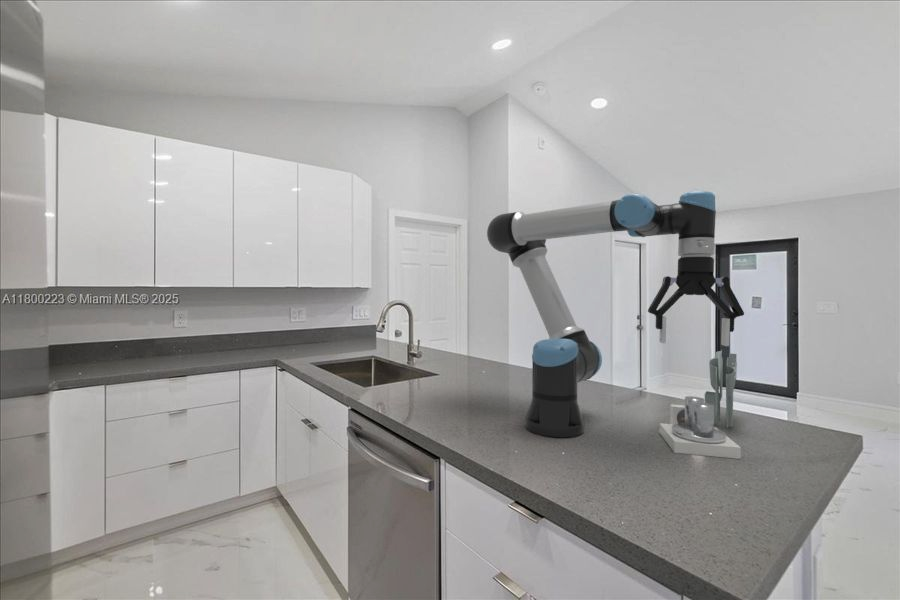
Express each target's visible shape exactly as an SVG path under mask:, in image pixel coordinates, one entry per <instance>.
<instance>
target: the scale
mask: <svg viewBox="0 0 900 600" xmlns="http://www.w3.org/2000/svg"><path fill="white" fill-rule="evenodd" d="M681 423H685V404H684V405H682V404H672V403H671V404H669V423H663V422H662V423H661V422H660V423H659V434H660V435H661V437H662V438H663V439H664V441H665V442H666V444H667V445H668V446H669V447H670V449H671V450H672V451H673V453H675V454H683V455H684V454H685V455H695V456H706V457H716V458H727V459H735V460H736V459H737V460H741V458H742V454H741V453H742V448H741V447H740V445H738V444H737V443H736V442H735V441H733V440H732V439H731V438H729V437H728V436H727V435H726V441H725V442H722V443H703V442H696V441H691V440H687V439H684V438H681V437H679V436H676V435H675V434H673V433H672V426H673V425H675V424H681ZM714 428H715V429H718V430H720V429H719V428H718V427H714Z"/></svg>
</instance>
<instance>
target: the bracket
mask: <svg viewBox="0 0 900 600" xmlns="http://www.w3.org/2000/svg"><path fill="white" fill-rule="evenodd" d="M722 353H723V349H721V350H718V351H716V352H715V353H714V354H715V355H714V357H713V358H711V359H710V360H709V378H710V379H709V380H710V386H711V388H712V389H713V390H714V391H707V390H706V391H705V392H704V403H708V404H712V405H714V425H716V426H719V422H720V421H721V401H722V398H723V383H724V382H723V381H724V380H723V376H724V373H723V372H724V371H723V370H724V369H723V367H724V366H723V365H724V361H723V356H722V355H723V354H722ZM737 363H738V362H737V353H728V357H727V358H726V374H725V404H726V406H725V408H726V410H725V412H726V413H725V416H726V421H725V422H726V425H725V426H726V429H729V427H730V428H733V426H734V425H733V424H734V390H735V389H734V388H735V387H736V381H737V367H738V364H737Z"/></svg>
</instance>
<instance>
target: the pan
mask: <svg viewBox="0 0 900 600" xmlns="http://www.w3.org/2000/svg"><path fill="white" fill-rule="evenodd" d="M715 428H716V427H714V437H713V438H703V437H698V436H695V435H694V434H693V429H690V428H687V427H685V423H681V424H675V425H673V426H672V433H673V434H675V435H676V436H679V437H681V438H684V439H687V440H691V441H696V442H703V443H722V442H725V441H726V436H727V434H726V432H725V431H722V430H721V429H719V428H717V429H715ZM718 429H719V430H718Z"/></svg>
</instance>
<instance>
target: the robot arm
mask: <svg viewBox="0 0 900 600" xmlns="http://www.w3.org/2000/svg"><path fill="white" fill-rule="evenodd" d="M716 214H717V210H716V195H715V194H714V193H713V192H711V191H707V190H695V191H690V192H686V193H683V194H681V195H680V196H679V201H678V203H677V202H676V203H671V204H662V205H657V204H656V203H654V202H653V201H652V200H651V199H650V198H649V197H647V196H645V195H642V194H640V193H629V194H626V195H624V196H623V197H621V198H620V199H617V200H611V201H610V200H609V201H604V202H597V203H590V204H585V205H578V206H570V207H565V208H557V209H552V210H547V211H546V210H545V211H539V212H538V211H537V212H532V213H526V214H525V212H523V211H515V212H514V211H513V212H507V213H503V214H499V215H497V216H495V217H494V218H492V220H491V221H490V223H489V224H488V227H487V230H486V236H487V240H488V242H489V245H490V246H491V247H492V248H493V249H494V250H496V251H497V252H501V253H505V254H508V257H509V259H510V261H511V263H512V265H513V267H515V268H519V270H520V273H521V274H522V277H523V279H524V281H525V284H526V286H527V289H528V290H529V293H530V295H531V298H532V300H533V301H534V305H535V308H537V311H538V314H539V316H540V318H541V320H542V323H543V325H544V327H545V330H546V332H547V334H548V339H547V338H546V339H542V340H539V341H537V342H535V344H534V345H533V348H532V354H531V359H532V366H531V367H532V368H531V369H532V371H531V372H532V376H531V377H532V378H531V379H532V381H531V382H532V384H531V386H532V393H531V394H532V398H531V400H530V404H529V406H528V409H527V413H526V415H525V428H526V429H527V430H528V431H530V432H531V433H534V434H537V435H541V436H545V437H552V438H573V437H577V436H580V435H583V433H584V432H585V422H584V418H583V415H582V413H581V409H580V406H579V403H578V383H581V382H584V381H585V382H586V381H587V380H589V379H591V378H593V376H595V375H597V373H598V372H599V370H600V369H601V367H602V362H603V357H602V353H601V350H600V348H599V347H598V346H597V344H596V343H594V342H593V341H591V340H590V339H589V337H588V334H586V330H585V329H583V328H581V327H579V326H578V325H577V324H576V322H575V319H574V317H573V315H572V313H571V310H570V308H569V306H568V304H567V302H566V300H565V298H564V296H563V294H562V291H561V289H560V286H559V285H558V282H557V280H556V278H555V276H554V274H553V272H552V269H551V266H550V265H549V263H548V261H547V258H546V255H547V253H548V248H547V246H546V242H547V240H551V239H561V238H568V237H578V236H588V235H594V234H595V235H596V234H605V233H612V232H625V231H626V232H627V234H628V235H629V236H630V237H632V238H637V237H638V238H639V237H641V238H645V237H653V236H654V237H655V236H665V235H678V248H677V249H678V250H677V251H678V252H677V256H679V257H680V258H678V259H677V276H676V277H671V276H669V275H668V276H664V277H663V279H662V283H661V287H660V288H659V290H658V291H657V294H656V295H655V297H654V298H653V300H652V302H651V304H650V305H649V307H648V309H647V312H648V313H649V314H652V315H654V317H655V329H656V330H659V343H661V344H666V340H667V336H666V334H667V316H665V314H666V312H667V311H668V310H669V309H670V308H672V307H673V305H674V304H676V303H677V301H678V300H680V298H681V297H683V296H684V295H686V296H694V295H695V296H706V297H707V298H708V299H709V300H710V301H711V302H712V303H713V304H714V306H716V308H717V309H718V310H719V311H720V312H721V313H722V314H723V315H724V316H725V317H722V318H721V329H720V330H721V336H720V338H721V339H720V345H721V346H724V347H730V333H731V332H732V333H733V332H734V331H735V319H736V318H738V317H742V316H744V315H745V312H744V309H743V308H742V306H741V305H740V302H739V300H738V299H737V297H736V295H735V293H734V292H733V290H732V288H731V286H730V284H731V283H730V278H729V277H728V276H722V277H721V276H720V277H715V275H714V273H715V268H714V267H715V258H714V257H712V256H713V255H715V237H716V236H715V235H716V234H715V233H716ZM674 283H675V285H677V287H678V288H677V289H676V290H675V292H674V293H673V294H672V295H671V296H670V297H669V298H668V299H667V300H665V302H664V303H663V304H662V305H661V306H660V304H661V303H662V301H663V299H664V297H665V296H666V294H667V293H668V290H669V288H670V287H671V286H673V284H674ZM715 284H717V286H718V287H720V290H721V292H722V294H723V295H724V296H723V297H725V299H726V301H727V303H728V305H729V306H730V307H728V305H727V304H726V303H725V302H724V301H723V300H722V299H721V298H720V296H718V294H717V292H716V291H715V290H714V289H713V288H712V287H713V286H714V285H715ZM659 306H660V307H659ZM658 307H659V308H658Z"/></svg>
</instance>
